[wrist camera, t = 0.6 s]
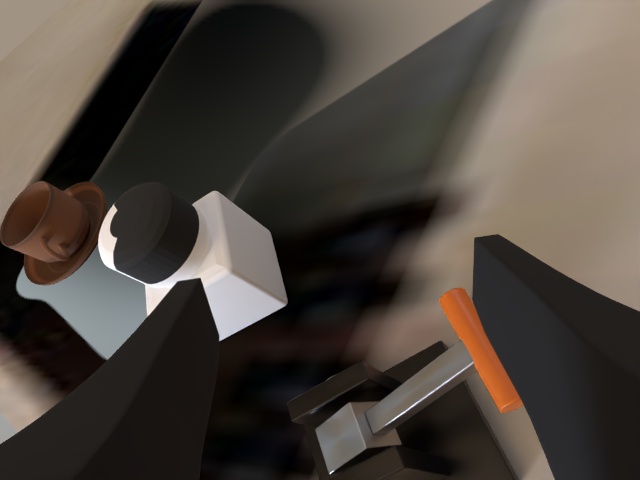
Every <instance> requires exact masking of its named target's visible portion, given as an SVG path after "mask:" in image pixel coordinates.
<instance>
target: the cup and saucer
mask: <svg viewBox="0 0 640 480" xmlns="http://www.w3.org/2000/svg"><path fill="white" fill-rule="evenodd" d="M106 215H107V205H106V198H105V195H104V193H103V191H102V190H101V189H100V188H99V187H98V186H97V185H96V184H94V183H91V182H81V183H78V184H75V185H73V186H71V187H69V188H68V189H66V190H65V191H61V190H59V189H57V188H56V187H54V186H52V185H50V184H49V183H47V182H45V181H38V182H35V183H33V184H31V185H30V186H28V187H27V188H26V189H25V190H23V191H22V192H21V193H20V194H19V196H18V197H17V198H16V199H15V200H14V202H13V203H12V205H11V206H10V208H9V210H8V211H7V213H6V215H5V218H4V220H3V223H2V226H1V232H0V238H1V242H2V243H3V245H5V246H6V247H9V248H11V249H14V250H16V251H19V252H21V253H24V254H25V256H24V269H25V273H26V276H27V277H28V279H29V280H30V281H31V282H33V283H35V284H38V285H51V284H55V283H57V282H59V281H61V280H63V279H65V278H67V277H68V276H70V275H71V274H73V273H74V272H75V271H76V270H77V269H79V268H80V267H81V266H82V265H83V264H84V262H85V261H86V260H87V259H88V257H89V256H90V255H91V253H92V252H93V250H94V249H95V247H96V245H97V244H98V238H99V233H100V229H101V226H102V223H103V221H104V219H105V217H106Z"/></svg>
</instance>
